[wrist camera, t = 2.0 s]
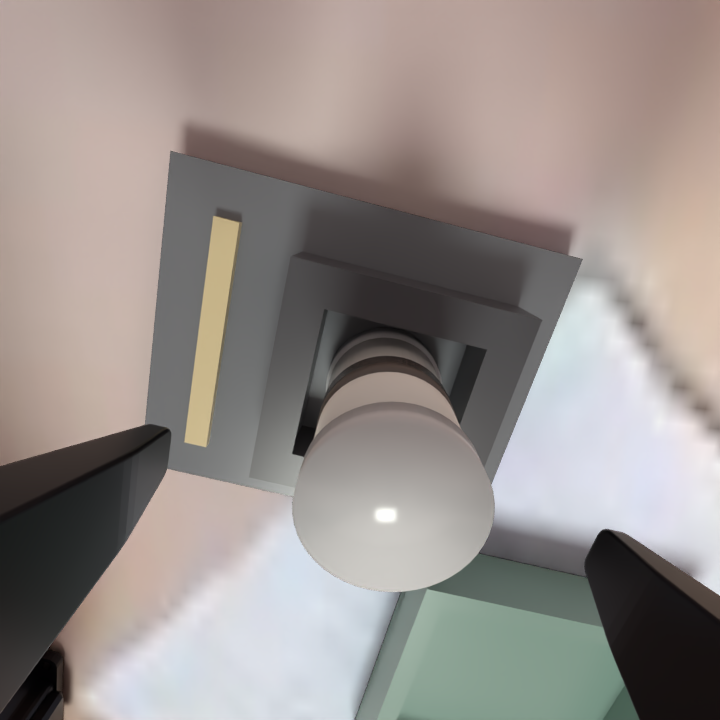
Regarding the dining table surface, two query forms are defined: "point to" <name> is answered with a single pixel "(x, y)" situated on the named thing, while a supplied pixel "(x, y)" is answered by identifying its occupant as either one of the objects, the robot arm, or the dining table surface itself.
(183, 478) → the dining table surface
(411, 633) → the parts tray
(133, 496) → the robot arm
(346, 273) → the board
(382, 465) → the white banded cylinder
